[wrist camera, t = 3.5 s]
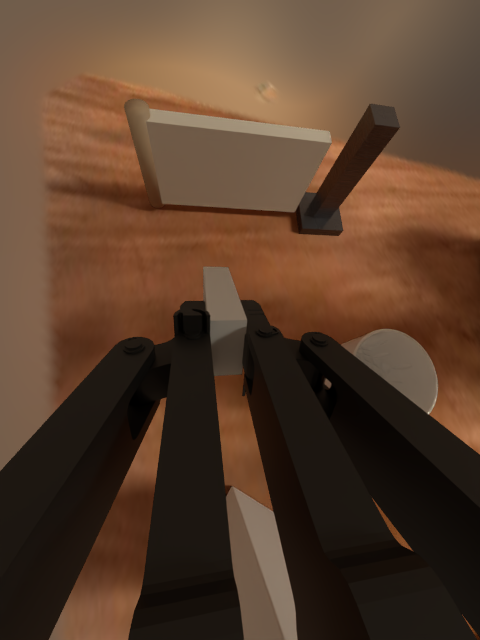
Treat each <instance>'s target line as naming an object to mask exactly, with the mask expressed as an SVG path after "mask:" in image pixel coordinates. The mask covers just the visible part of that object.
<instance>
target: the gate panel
mask: <svg viewBox="0 0 480 640" xmlns="http://www.w3.org/2000/svg"><path fill="white" fill-rule="evenodd" d="M124 108H125V112H126V116H127V120H128V123H129V127H130V131H131V135H132V138H133V142H134V146H135V150H136V153H137V157H138V161H139V165H140V168H141V172H142V176H143V180H144V183H145V187H146V191H147V194H148V198H149V202H150V204H151V205H152V206H153V207H156V208H160V207H163V206H164V205H165V204H175V205H191V206H206V207H221V208H236V209H252V210H267V211H282V212H295V210H296V209H297V207H298V205H299V203H300V201H301V199H302V197H303V196H304V194H305V192H306V190H307V188H308V186H309V184H310V183H311V181H312V179H313V177H314V175H315V173H316V171H317V170H318V168H319V166H320V164H321V162H322V160H323V158H324V157H325V155H326V153H327V151H328V149H329V147H330V145H331V144H332V141H331V136H330V131H324V130H316V129H307V128H299V127H291V126H283V125H275V124H267V123H259V122H251V121H243V120H235V119H227V118H219V117H211V116H203V115H195V114H187V113H179V112H171V111H163V110H155V109H149V106H148V104H147V103H146V102H144V101H143V100H140V99H131V100H128V101H127V102H126V103H125V105H124Z"/></svg>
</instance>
